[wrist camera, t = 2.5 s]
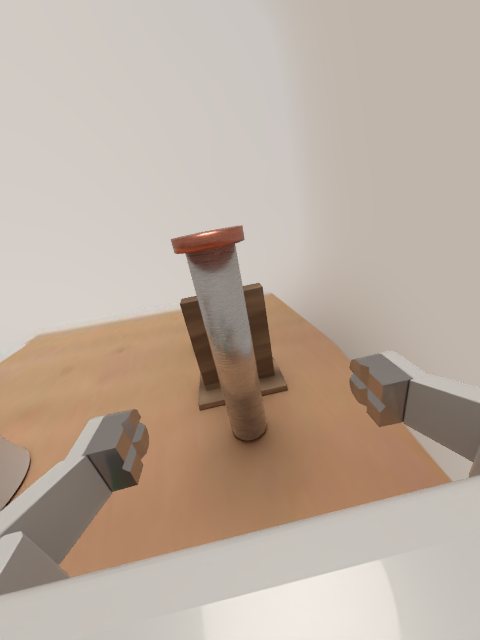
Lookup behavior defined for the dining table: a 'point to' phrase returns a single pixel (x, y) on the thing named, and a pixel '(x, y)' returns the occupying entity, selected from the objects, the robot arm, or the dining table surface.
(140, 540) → the dining table surface
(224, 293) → the copper-headed rod
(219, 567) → the robot arm
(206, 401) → the eye board
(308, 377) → the dining table surface
